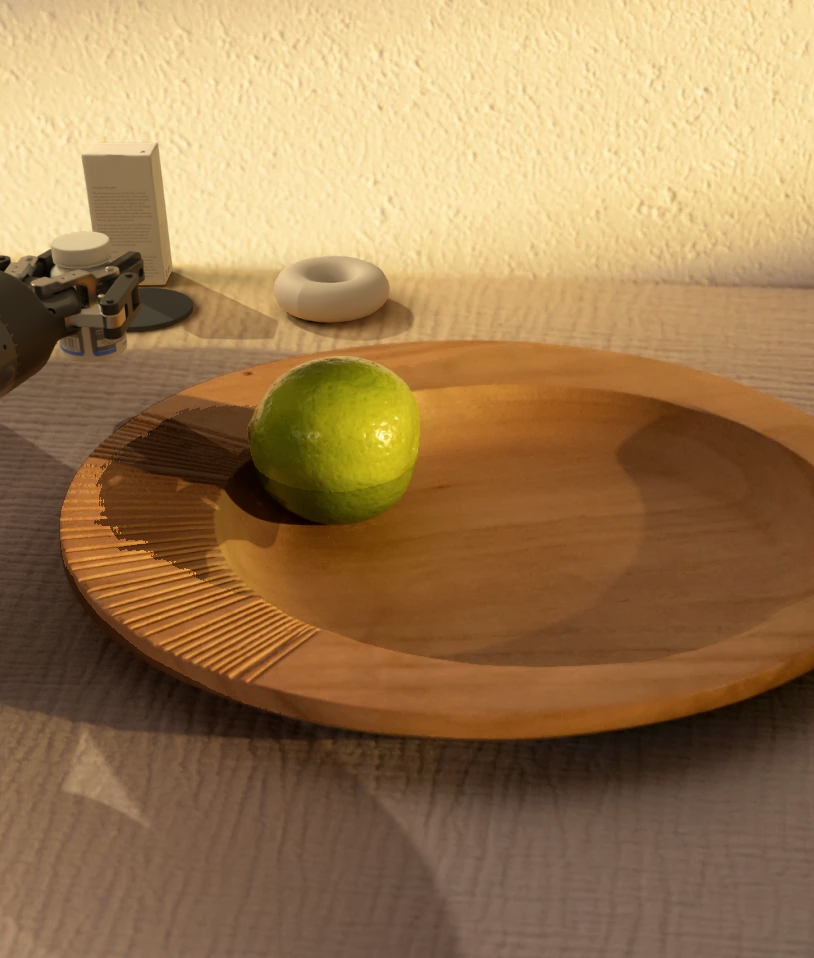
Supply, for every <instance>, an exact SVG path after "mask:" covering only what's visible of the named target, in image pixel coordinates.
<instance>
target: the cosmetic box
mask: <svg viewBox="0 0 814 958" xmlns="http://www.w3.org/2000/svg"><path fill="white" fill-rule="evenodd" d="M80 156H81V157H80V158H81V163H82V164H81V165H82V169H83V175H84V183H85V189H86V190H85V191H86V196H87V203H88V211H89V217H90V225H91V232H98V233H102V234H105V235H107V236H108V237H109V240H110V246H111V251H112V254H111V256H112V258H111V261H114V260H116V259H117V258H119V257H120V256H122V255H124V254H125V253H127V252H128V251H134V252H139V253H140V254H141V259H143V261H144V271H145V280H144V281H143V282H141V283H140V284H139V286H166V284H167V282H168V281H169V277H171V276H170V275H171V273H172V272H173V268H174V267H173V259H172V258H173V257H172V250H171V241H170V240H171V239H170V234H169V225H168V216H167V208H166V199H165V190H164V182H163V181H164V180H163V172H162V165H161V156H160V148H159V143H158V142H157V141H152V142H151V141H150V142H91V144H90V145H89V146H88V147H87V148H86V149H85V151H84V152H83V153H82V154H81V155H80Z"/></svg>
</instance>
